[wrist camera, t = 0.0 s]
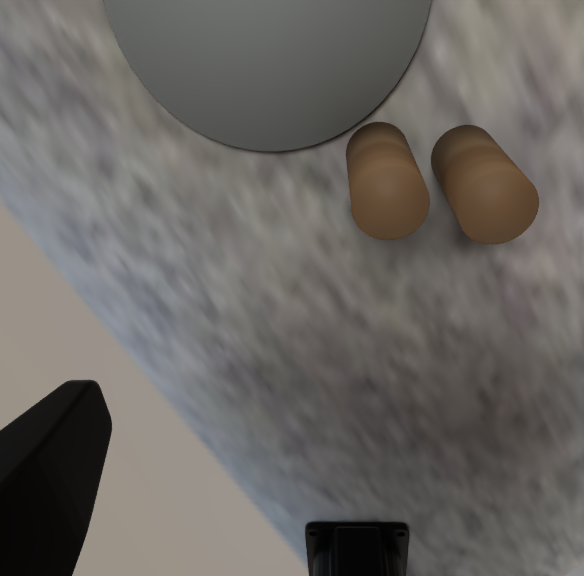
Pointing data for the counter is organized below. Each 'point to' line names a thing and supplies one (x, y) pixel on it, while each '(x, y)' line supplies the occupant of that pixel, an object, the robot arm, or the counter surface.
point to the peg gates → (451, 175)
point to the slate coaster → (268, 63)
